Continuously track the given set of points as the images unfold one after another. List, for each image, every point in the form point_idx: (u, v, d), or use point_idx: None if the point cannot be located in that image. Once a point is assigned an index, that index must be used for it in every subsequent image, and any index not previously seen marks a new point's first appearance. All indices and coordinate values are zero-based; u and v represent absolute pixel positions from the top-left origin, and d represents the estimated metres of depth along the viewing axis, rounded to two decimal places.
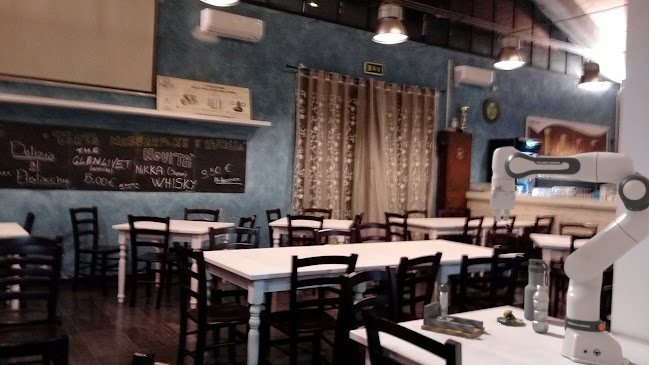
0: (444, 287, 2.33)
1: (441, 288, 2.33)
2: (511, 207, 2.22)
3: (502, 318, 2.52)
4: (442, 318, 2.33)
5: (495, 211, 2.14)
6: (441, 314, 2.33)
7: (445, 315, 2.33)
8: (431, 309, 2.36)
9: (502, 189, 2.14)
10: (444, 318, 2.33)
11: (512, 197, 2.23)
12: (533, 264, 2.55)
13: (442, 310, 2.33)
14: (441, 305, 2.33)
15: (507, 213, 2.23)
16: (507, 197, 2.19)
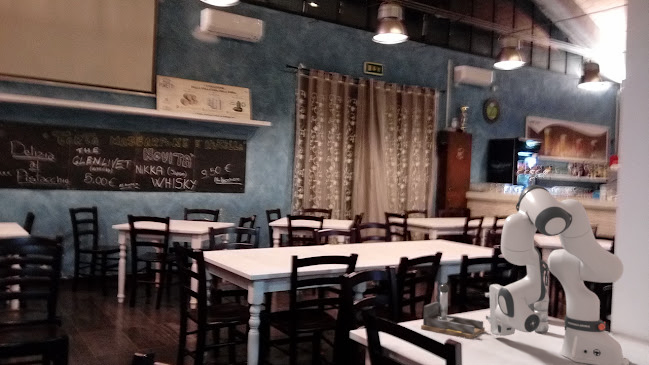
0: (444, 287, 2.33)
1: (441, 288, 2.33)
2: (491, 323, 2.22)
3: None
4: (442, 318, 2.33)
5: None
6: (441, 314, 2.33)
7: (445, 315, 2.33)
8: (431, 309, 2.36)
9: None
10: (444, 318, 2.33)
11: (497, 329, 2.18)
12: None
13: (442, 310, 2.33)
14: (441, 305, 2.33)
15: None
16: None
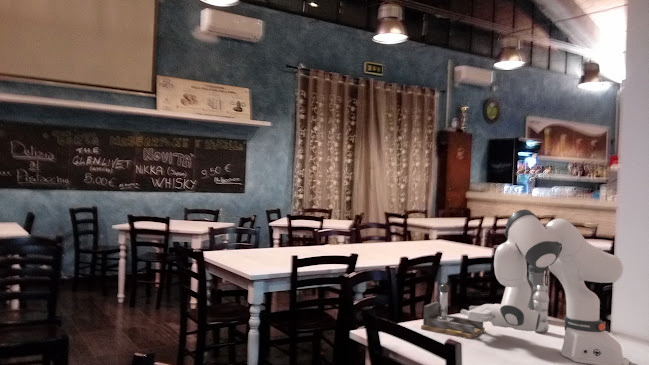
0: (444, 287, 2.33)
1: (441, 288, 2.33)
2: None
3: None
4: (442, 318, 2.33)
5: None
6: (441, 314, 2.33)
7: (445, 315, 2.33)
8: (431, 309, 2.36)
9: (492, 319, 2.17)
10: (444, 318, 2.33)
11: None
12: None
13: (442, 310, 2.33)
14: (441, 305, 2.33)
15: None
16: None
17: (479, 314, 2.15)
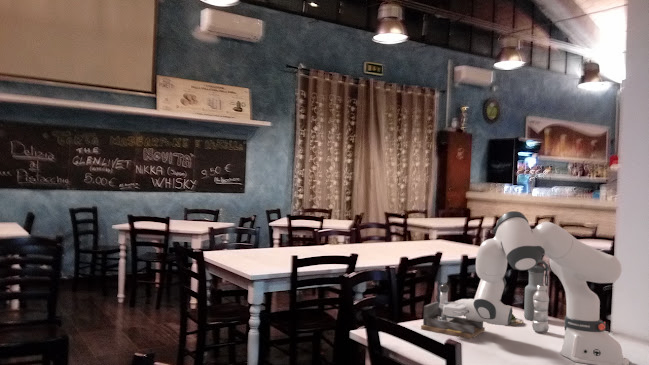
0: (444, 287, 2.33)
1: (441, 288, 2.33)
2: None
3: None
4: (442, 318, 2.33)
5: None
6: (441, 314, 2.33)
7: (445, 315, 2.33)
8: (431, 309, 2.36)
9: (466, 313, 2.24)
10: (444, 318, 2.33)
11: None
12: None
13: (442, 310, 2.33)
14: None
15: None
16: None
17: (453, 309, 2.22)
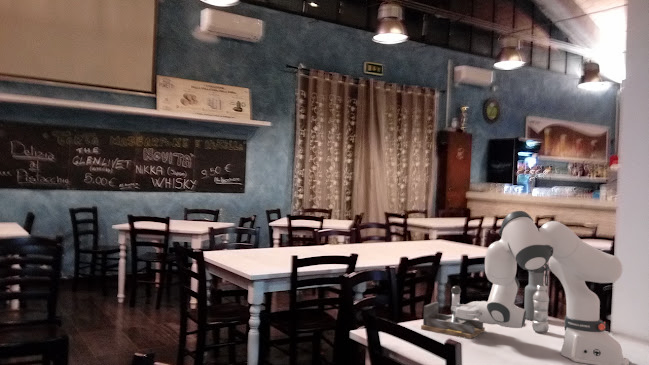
0: (456, 289, 2.30)
1: (453, 290, 2.30)
2: None
3: None
4: (454, 320, 2.30)
5: None
6: (453, 316, 2.30)
7: (457, 317, 2.30)
8: (431, 309, 2.36)
9: (479, 316, 2.21)
10: (456, 320, 2.30)
11: None
12: None
13: (454, 312, 2.30)
14: None
15: None
16: None
17: (466, 311, 2.18)
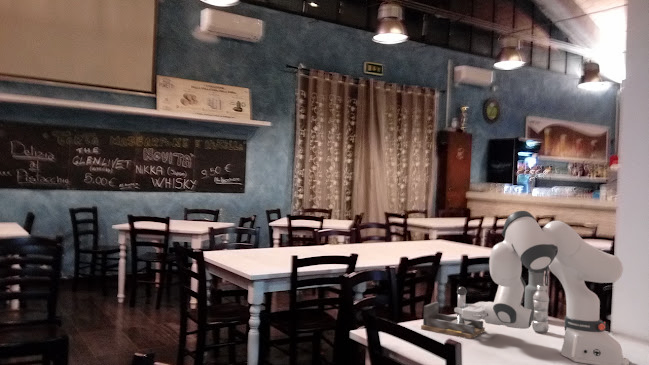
0: (462, 290, 2.28)
1: (459, 291, 2.29)
2: None
3: None
4: (460, 321, 2.28)
5: None
6: (459, 317, 2.29)
7: (463, 318, 2.28)
8: (431, 309, 2.36)
9: (485, 317, 2.19)
10: (462, 321, 2.28)
11: None
12: None
13: None
14: None
15: None
16: None
17: (472, 312, 2.17)
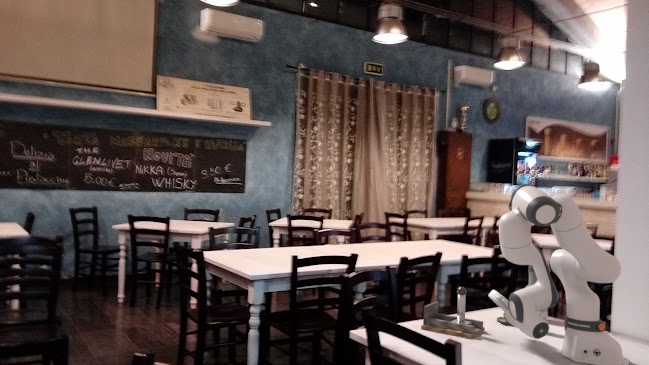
0: (462, 290, 2.28)
1: (459, 291, 2.29)
2: None
3: (502, 318, 2.52)
4: (460, 321, 2.28)
5: None
6: (459, 317, 2.29)
7: (463, 318, 2.28)
8: (431, 309, 2.36)
9: (507, 309, 2.14)
10: (462, 321, 2.28)
11: None
12: None
13: (460, 313, 2.28)
14: (459, 308, 2.29)
15: None
16: None
17: (498, 294, 2.16)
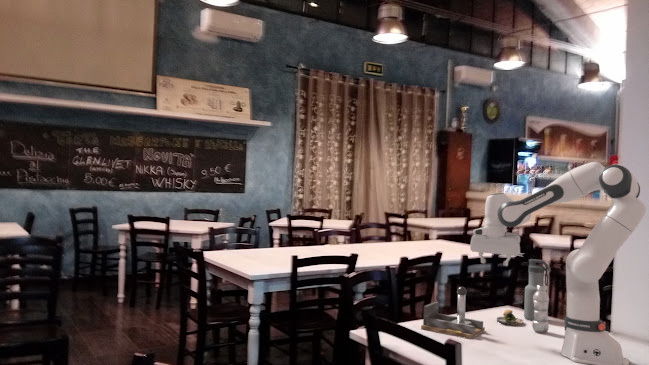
0: (462, 290, 2.28)
1: (459, 291, 2.29)
2: None
3: (502, 318, 2.52)
4: (460, 321, 2.28)
5: (509, 256, 2.24)
6: (459, 317, 2.29)
7: (463, 318, 2.28)
8: (431, 309, 2.36)
9: None
10: (462, 321, 2.28)
11: None
12: (533, 264, 2.55)
13: (460, 313, 2.28)
14: (459, 308, 2.29)
15: (482, 256, 2.31)
16: None
17: (517, 244, 2.21)
